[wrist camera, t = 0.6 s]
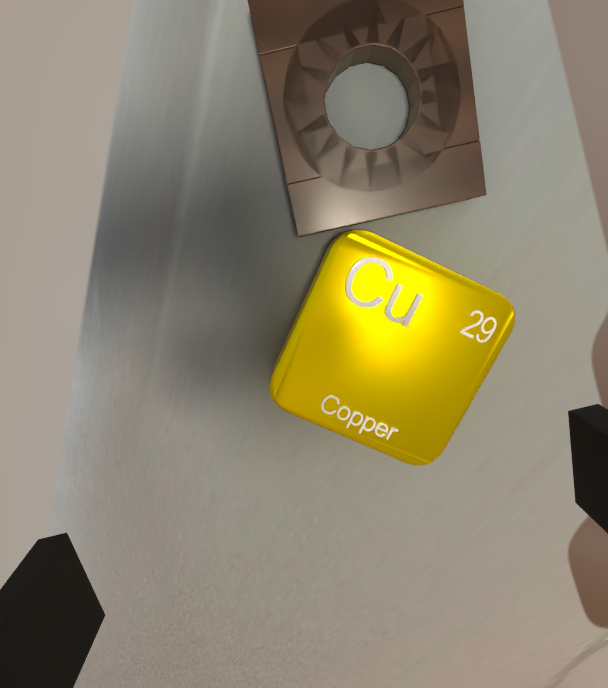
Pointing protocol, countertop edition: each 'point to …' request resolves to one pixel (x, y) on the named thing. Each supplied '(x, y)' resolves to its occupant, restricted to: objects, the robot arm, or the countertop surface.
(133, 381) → the countertop surface
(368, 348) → the element tile
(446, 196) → the hole board
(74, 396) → the countertop surface
